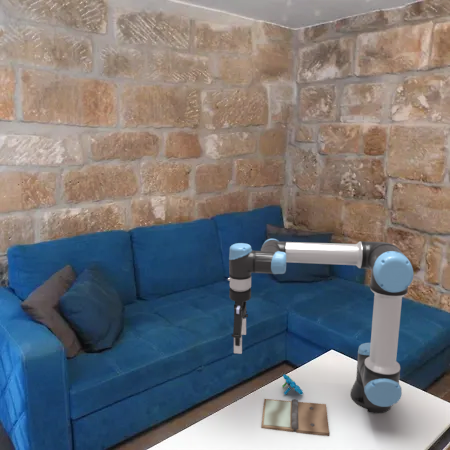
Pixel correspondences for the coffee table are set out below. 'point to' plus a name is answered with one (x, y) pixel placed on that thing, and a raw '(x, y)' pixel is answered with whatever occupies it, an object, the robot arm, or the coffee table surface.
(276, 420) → the hinge board
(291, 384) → the gear
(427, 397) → the coffee table surface
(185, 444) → the coffee table surface
